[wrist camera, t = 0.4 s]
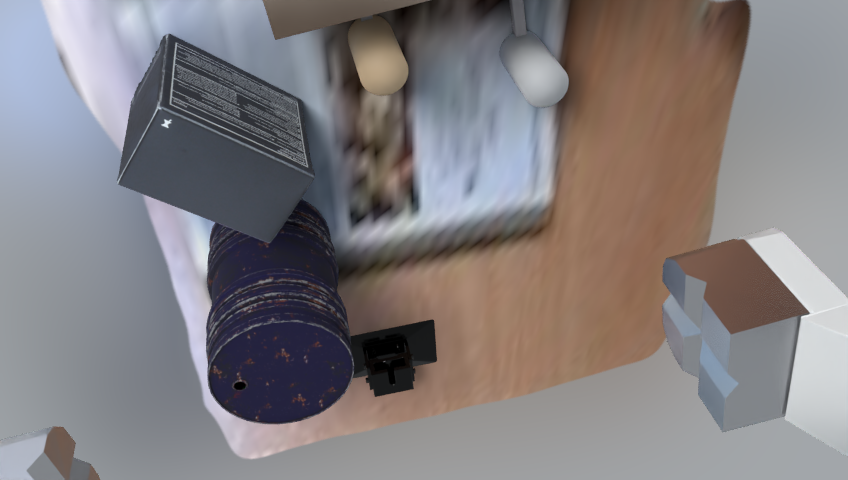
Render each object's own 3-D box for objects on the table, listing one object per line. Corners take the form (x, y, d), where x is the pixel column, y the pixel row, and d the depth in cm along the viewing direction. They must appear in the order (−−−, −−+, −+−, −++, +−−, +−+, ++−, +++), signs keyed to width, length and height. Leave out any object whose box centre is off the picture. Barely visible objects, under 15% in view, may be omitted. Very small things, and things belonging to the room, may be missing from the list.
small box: (125, 107, 56) (109, 187, 48) (165, 29, 53) (155, 100, 45) (262, 167, 61) (269, 250, 53) (305, 99, 58) (319, 174, 50)
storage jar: (317, 178, 63) (339, 303, 51) (343, 273, 69) (368, 404, 57) (190, 208, 62) (184, 342, 50) (228, 301, 68) (230, 439, 56)
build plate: (446, 306, 74) (458, 340, 71) (450, 361, 79) (462, 396, 75) (313, 333, 73) (318, 369, 69) (325, 387, 77) (330, 424, 74)
